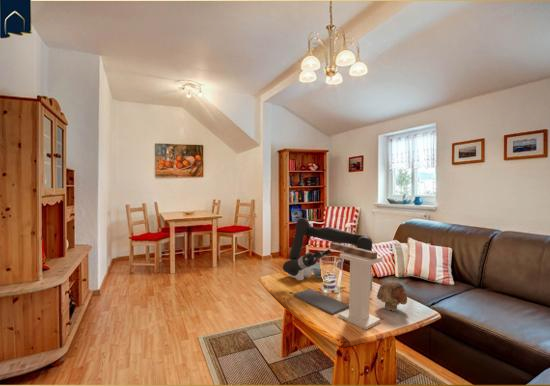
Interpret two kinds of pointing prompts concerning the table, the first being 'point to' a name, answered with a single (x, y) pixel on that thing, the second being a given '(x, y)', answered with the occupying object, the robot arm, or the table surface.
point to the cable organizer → (303, 274)
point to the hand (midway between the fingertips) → (325, 252)
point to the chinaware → (316, 270)
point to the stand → (359, 291)
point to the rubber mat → (321, 301)
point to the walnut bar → (354, 250)
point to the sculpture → (392, 294)
